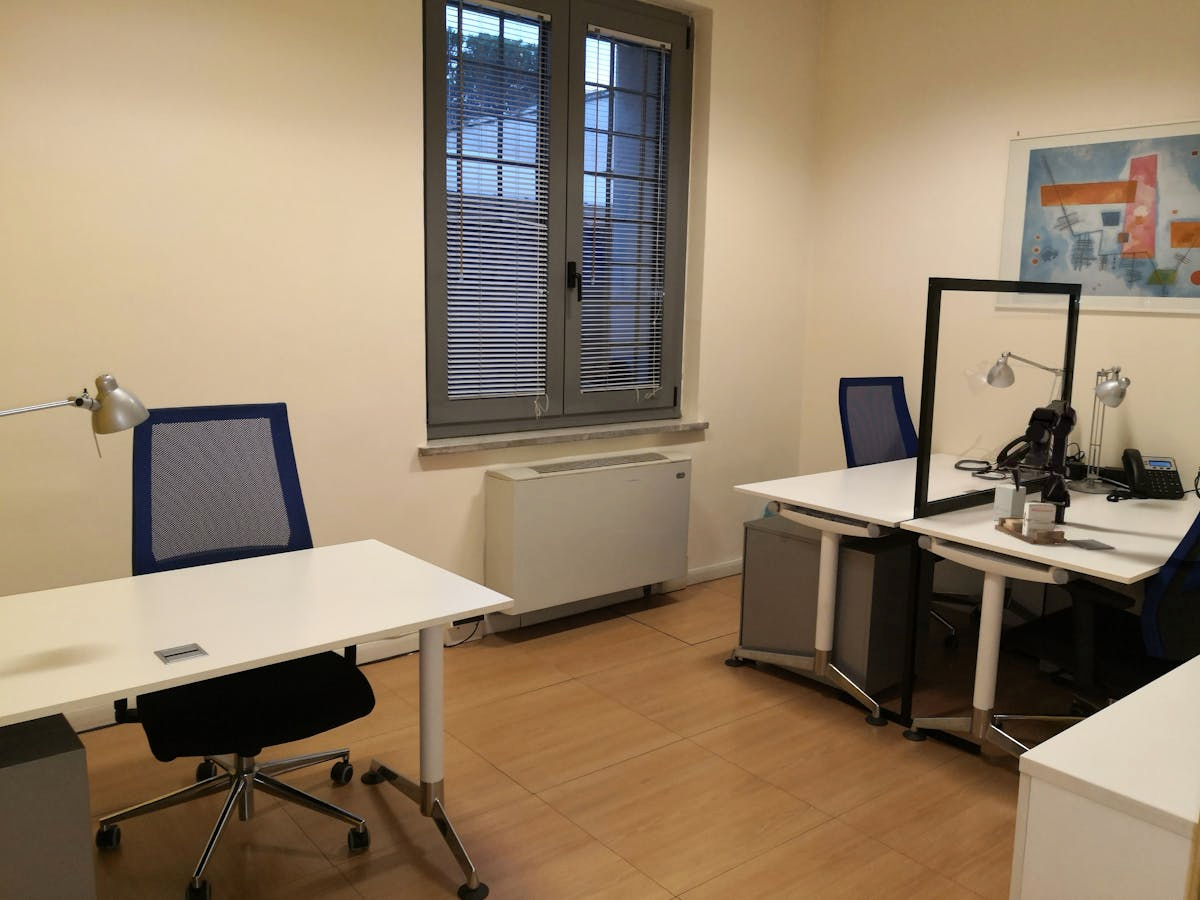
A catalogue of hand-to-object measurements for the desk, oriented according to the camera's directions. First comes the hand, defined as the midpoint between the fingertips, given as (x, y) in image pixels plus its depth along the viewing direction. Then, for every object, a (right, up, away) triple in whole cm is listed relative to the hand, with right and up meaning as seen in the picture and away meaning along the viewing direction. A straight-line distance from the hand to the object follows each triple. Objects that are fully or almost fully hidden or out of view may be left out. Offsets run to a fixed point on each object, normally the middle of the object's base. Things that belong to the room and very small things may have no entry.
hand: (1032, 493), depth 316 cm
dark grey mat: (+18, -16, -1) cm, 25 cm away
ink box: (+3, -15, +5) cm, 16 cm away
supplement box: (+4, -11, +29) cm, 31 cm away
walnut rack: (+3, -14, +8) cm, 17 cm away
